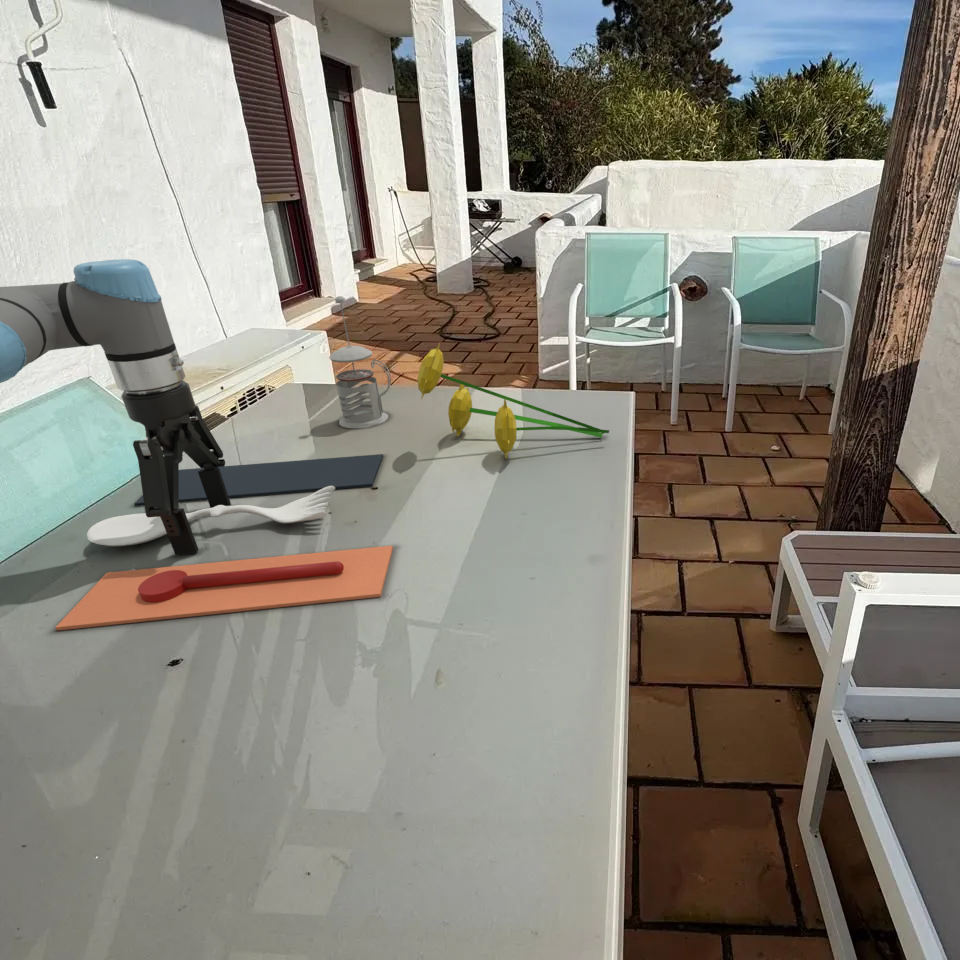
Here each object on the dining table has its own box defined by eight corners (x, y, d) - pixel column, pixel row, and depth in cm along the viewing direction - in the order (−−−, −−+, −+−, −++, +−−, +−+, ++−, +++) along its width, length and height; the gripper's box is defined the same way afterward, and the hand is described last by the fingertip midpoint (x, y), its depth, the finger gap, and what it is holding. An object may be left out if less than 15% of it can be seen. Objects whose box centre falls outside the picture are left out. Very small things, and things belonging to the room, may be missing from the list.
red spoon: (132, 605, 76) (128, 594, 75) (153, 579, 80) (149, 569, 80) (340, 584, 79) (337, 573, 78) (348, 560, 83) (346, 550, 83)
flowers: (594, 410, 132) (429, 351, 123) (626, 400, 111) (429, 328, 102) (571, 484, 132) (403, 430, 123) (599, 488, 110) (397, 423, 101)
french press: (345, 412, 135) (320, 292, 124) (400, 409, 136) (380, 290, 125) (333, 429, 126) (304, 302, 115) (392, 426, 127) (370, 299, 116)
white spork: (329, 531, 91) (324, 510, 90) (80, 560, 86) (70, 538, 84) (339, 502, 99) (334, 482, 98) (111, 526, 93) (102, 506, 92)
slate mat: (135, 506, 99) (133, 503, 99) (169, 473, 110) (168, 470, 110) (372, 486, 104) (371, 483, 104) (383, 456, 114) (383, 454, 114)
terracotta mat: (56, 630, 73) (54, 627, 72) (108, 575, 82) (106, 572, 82) (380, 597, 77) (379, 593, 77) (393, 548, 87) (392, 545, 87)
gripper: (139, 416, 72) (198, 573, 82) (219, 358, 93) (259, 488, 103) (67, 421, 71) (136, 579, 81) (165, 362, 92) (210, 493, 102)
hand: (205, 528), depth 92 cm, fingers open, 12 cm apart
